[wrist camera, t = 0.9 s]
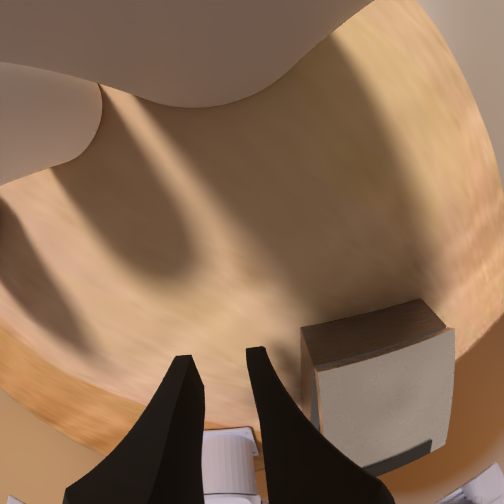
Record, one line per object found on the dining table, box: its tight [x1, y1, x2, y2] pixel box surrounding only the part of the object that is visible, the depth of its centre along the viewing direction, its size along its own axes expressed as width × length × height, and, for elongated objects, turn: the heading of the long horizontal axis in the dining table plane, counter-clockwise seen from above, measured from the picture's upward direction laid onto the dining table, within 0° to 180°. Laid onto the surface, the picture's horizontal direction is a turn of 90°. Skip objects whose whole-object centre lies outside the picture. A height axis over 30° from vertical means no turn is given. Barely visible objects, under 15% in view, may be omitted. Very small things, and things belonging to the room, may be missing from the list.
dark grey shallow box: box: [300, 299, 446, 433], centre depth 22 cm, size 12×12×4 cm
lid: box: [315, 327, 455, 477], centre depth 16 cm, size 12×12×1 cm
